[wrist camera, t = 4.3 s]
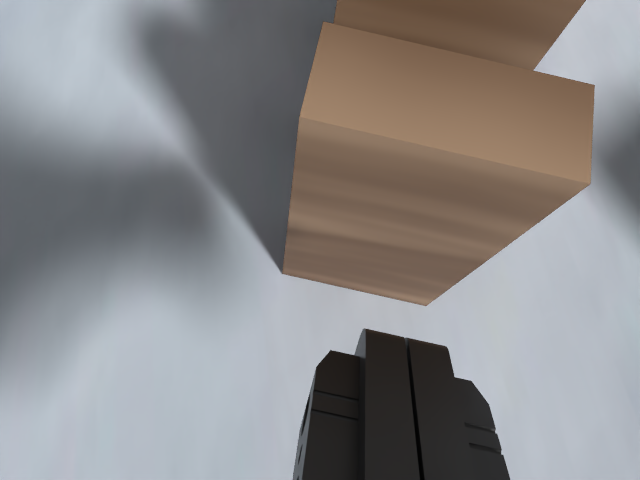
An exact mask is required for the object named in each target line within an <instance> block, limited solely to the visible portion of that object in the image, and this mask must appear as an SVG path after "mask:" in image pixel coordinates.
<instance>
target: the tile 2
mask: <svg viewBox="0 0 640 480" xmlns="http://www.w3.org/2000/svg"><path fill="white" fill-rule="evenodd" d="M585 1H586V0H337V5H336V10H335V16H334V22H333V24H336V25H341V26H345V27H349V28H353V29H358V30H362V31H366V32H370V33H375V34H379V35H383V36H388V37H392V38H396V39H400V40H405V41H409V42H413V43H417V44H422V45H426V46H430V47H434V48H439V49H443V50H447V51H451V52H456V53H460V54H464V55H468V56H473V57H477V58H481V59H485V60H490V61H494V62H498V63H503V64H507V65H511V66H515V67H520V68H524V69H528V70H532V71H533V70H534V69H535V67H536V66H537V65H538V63H539V62H540V61H541V59H542V58H543V57H544V55H545V54H546V53H547V51H548V50H549V49H550V47H551V46H552V45H553V43H554V42H555V41H556V39H557V38H558V37H559V35H560V34H561V33H562V31H563V30H564V29H565V27H566V26H567V25H568V23H569V22H570V21H571V19H572V18H573V17H574V16H575V14H576V13H577V12H578V10H579V9H580V8H581V6H582V5H583V4H584V2H585Z"/></svg>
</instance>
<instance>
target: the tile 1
mask: <svg viewBox="0 0 640 480" xmlns="http://www.w3.org/2000/svg"><path fill="white" fill-rule="evenodd" d="M594 87H595V85H592V84H588V83H583V82H579V81H575V80H571V79H566V78H562V77H558V76H554V75H549V74H545V73H541V72H537V71H532V70H528V69H524V68H520V67H515V66H511V65H507V64H503V63H498V62H494V61H490V60H485V59H481V58H477V57H473V56H468V55H464V54H460V53H456V52H451V51H447V50H443V49H439V48H434V47H430V46H426V45H422V44H417V43H413V42H409V41H405V40H400V39H396V38H392V37H388V36H383V35H379V34H375V33H370V32H366V31H362V30H358V29H353V28H349V27H345V26H341V25H336V24H332V23H328V22H324V21H323V25H322V29H321V33H320V37H319V41H318V45H317V49H316V53H315V57H314V61H313V65H312V68H311V72H310V76H309V80H308V84H307V88H306V92H305V96H304V100H303V104H302V108H301V112H300V116H299V125H298V134H297V143H296V152H295V161H294V171H293V180H292V189H291V198H290V207H289V217H288V226H287V235H286V244H285V253H284V263H283V272H282V274H286V275H290V276H295V277H299V278H304V279H308V280H312V281H317V282H321V283H326V284H330V285H335V286H339V287H344V288H348V289H353V290H357V291H362V292H366V293H370V294H375V295H379V296H384V297H388V298H393V299H397V300H402V301H406V302H411V303H415V304H420V305H424V306H427V305H428V304H429V303H431V302H432V301H433V300H435V299H436V298H438V297H439V296H440V295H442V294H443V293H444V292H446V291H447V290H448V289H450V288H451V287H452V286H454V285H455V284H456V283H458V282H459V281H460V280H462V279H463V278H464V277H466V276H467V275H468V274H470V273H471V272H473V271H474V270H475V269H477V268H478V267H479V266H481V265H482V264H483V263H485V262H486V261H487V260H489V259H490V258H491V257H493V256H494V255H495V254H497V253H498V252H499V251H501V250H502V249H503V248H505V247H506V246H508V245H509V244H510V243H512V242H513V241H514V240H516V239H517V238H518V237H520V236H521V235H522V234H524V233H525V232H526V231H528V230H529V229H530V228H532V227H533V226H534V225H536V224H537V223H539V222H540V221H541V220H543V219H544V218H545V217H547V216H548V215H549V214H551V213H552V212H553V211H555V210H556V209H557V208H559V207H560V206H561V205H563V204H564V203H565V202H567V201H568V200H569V199H571V198H572V197H574V196H575V195H576V194H578V193H579V192H580V191H582V190H583V189H584V188H586V187H587V186H588V185H590V181H591V158H592V134H593V111H594Z"/></svg>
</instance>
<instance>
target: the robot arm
mask: <svg viewBox="0 0 640 480" xmlns="http://www.w3.org/2000/svg"><path fill="white" fill-rule="evenodd" d="M495 430H496V428H495V425H494V421H493V418H492V414H491V411H490V407H489V404H488V403H487V401H486V400H485V399H484V397H483V396H482V395H481V393H480V392H479V391H478V389H477V388H476V387H475V385H474V384H473V383H472V381H469V380H464V379H460V378H455V377H454V373H453V369H452V364H451V359H450V355H449V351H448V348H447V347H446V346H442V345H437V344H433V343H428V342H424V341H419V340H415V339H410V338H405V339H404V337H400V336H396V335H391V334H387V333H382V332H378V331H373V330H369V329H363V331H362V333H361V335H360V338H359V341H358V345H357V348H356V352H355V355H350V354H345V353H341V352H336V351H332V350H330V352H329V353H328V354H327V355H326V356H325V358H324V359H323V360H322V361H321V362H320V363H319V365H318V366H317V367H316V371H315V375H314V378H313V382H312V386H311V390H310V394H309V397H308V401H307V405H306V409H305V413H304V417H303V420H302V424H301V428H300V433H299V440H298V446H297V453H296V460H295V466H294V473H293V480H510V477H509V474H508V470H507V467H506V463H505V460H504V456H503V455H501V450H502V449H501V446H500V442H499V439H498V435H497V434H495Z"/></svg>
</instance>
